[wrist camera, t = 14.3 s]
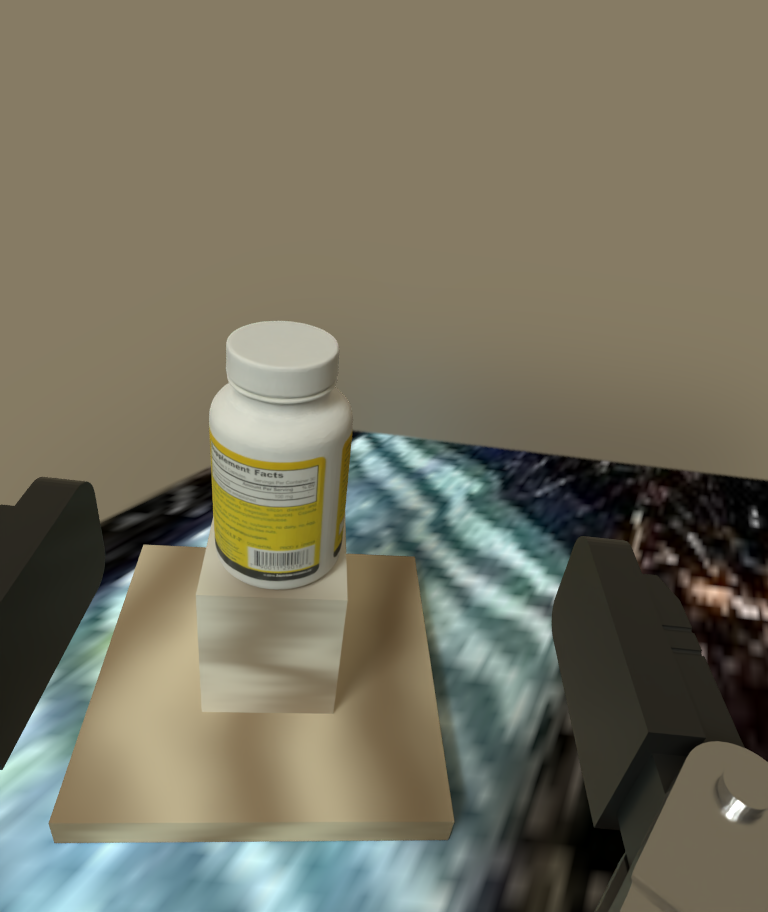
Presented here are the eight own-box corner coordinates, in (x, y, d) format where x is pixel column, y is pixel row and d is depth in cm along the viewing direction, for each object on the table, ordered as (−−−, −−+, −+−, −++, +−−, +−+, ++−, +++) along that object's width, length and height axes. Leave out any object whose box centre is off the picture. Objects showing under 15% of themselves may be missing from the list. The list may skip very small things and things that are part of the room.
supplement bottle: (281, 495, 32) (288, 301, 27) (365, 551, 30) (392, 349, 24) (187, 546, 29) (174, 334, 23) (273, 616, 26) (281, 394, 21)
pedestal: (411, 574, 42) (434, 455, 37) (448, 840, 29) (491, 710, 24) (145, 563, 40) (132, 436, 35) (54, 843, 27) (12, 702, 22)
